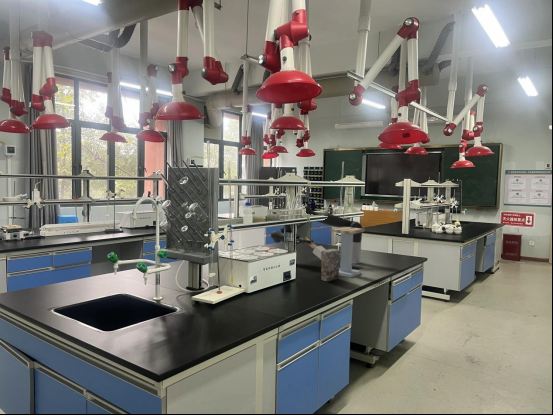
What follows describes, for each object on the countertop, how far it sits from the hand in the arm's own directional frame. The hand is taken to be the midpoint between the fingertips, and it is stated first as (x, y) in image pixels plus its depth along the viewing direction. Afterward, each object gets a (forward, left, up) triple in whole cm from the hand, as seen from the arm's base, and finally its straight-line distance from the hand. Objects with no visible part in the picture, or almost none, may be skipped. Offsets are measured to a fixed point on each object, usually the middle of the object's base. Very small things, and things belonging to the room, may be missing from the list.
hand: (311, 242), depth 289 cm
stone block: (+37, +5, -19) cm, 42 cm away
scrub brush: (+1, +1, -6) cm, 6 cm away
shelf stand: (+21, +21, -19) cm, 35 cm away
